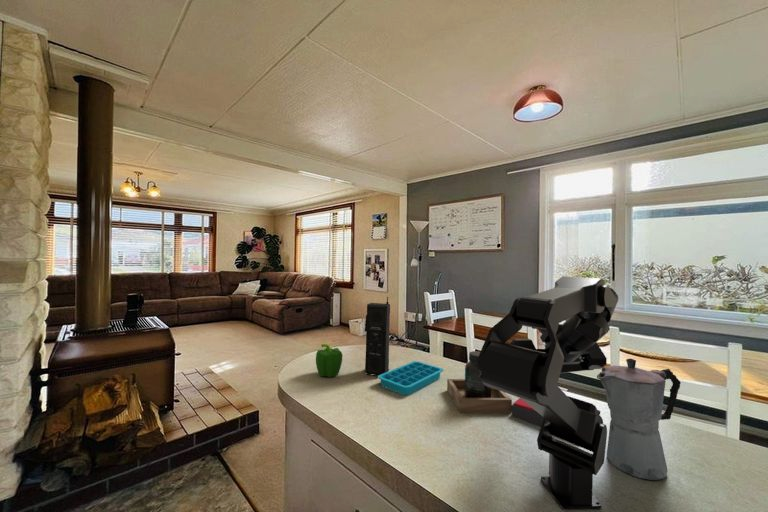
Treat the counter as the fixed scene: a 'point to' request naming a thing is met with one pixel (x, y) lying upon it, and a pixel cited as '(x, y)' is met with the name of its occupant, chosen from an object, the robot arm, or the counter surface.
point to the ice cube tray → (410, 377)
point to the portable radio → (377, 338)
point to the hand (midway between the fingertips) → (537, 372)
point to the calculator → (526, 412)
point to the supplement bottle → (474, 379)
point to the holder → (478, 399)
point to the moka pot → (637, 418)
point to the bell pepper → (328, 361)
